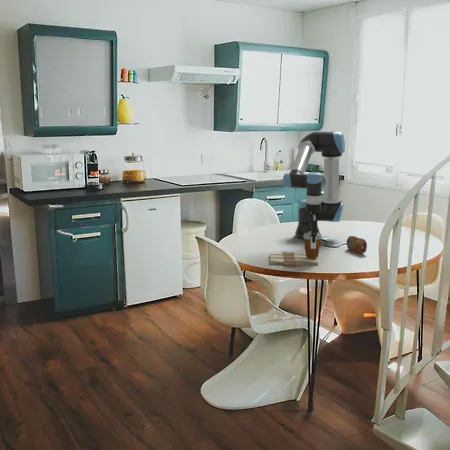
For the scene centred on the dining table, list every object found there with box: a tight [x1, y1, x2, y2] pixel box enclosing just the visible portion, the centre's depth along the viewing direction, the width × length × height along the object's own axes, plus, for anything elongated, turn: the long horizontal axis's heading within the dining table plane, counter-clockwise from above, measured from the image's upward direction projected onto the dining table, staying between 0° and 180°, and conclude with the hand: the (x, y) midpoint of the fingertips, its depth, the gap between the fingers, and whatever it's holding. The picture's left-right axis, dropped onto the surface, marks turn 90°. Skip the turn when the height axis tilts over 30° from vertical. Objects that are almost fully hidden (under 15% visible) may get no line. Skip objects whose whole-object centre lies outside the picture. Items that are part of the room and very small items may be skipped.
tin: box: [346, 235, 368, 255], centre depth 298 cm, size 15×3×8 cm, turn 24°
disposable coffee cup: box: [303, 232, 323, 259], centre depth 281 cm, size 10×10×12 cm
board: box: [269, 251, 319, 268], centre depth 283 cm, size 22×24×2 cm
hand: (312, 245), depth 281 cm, fingers closed on disposable coffee cup, 9 cm apart
